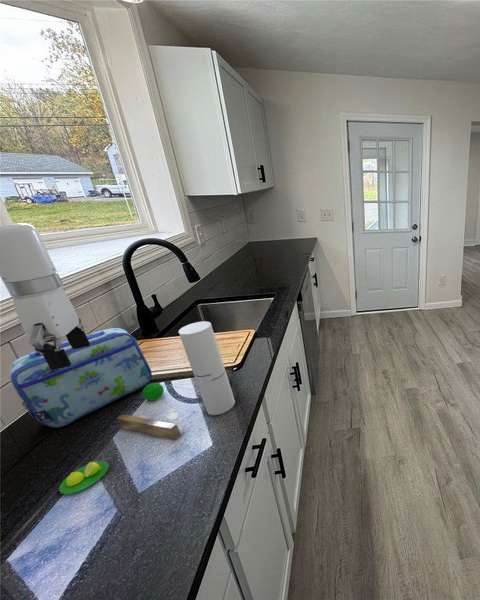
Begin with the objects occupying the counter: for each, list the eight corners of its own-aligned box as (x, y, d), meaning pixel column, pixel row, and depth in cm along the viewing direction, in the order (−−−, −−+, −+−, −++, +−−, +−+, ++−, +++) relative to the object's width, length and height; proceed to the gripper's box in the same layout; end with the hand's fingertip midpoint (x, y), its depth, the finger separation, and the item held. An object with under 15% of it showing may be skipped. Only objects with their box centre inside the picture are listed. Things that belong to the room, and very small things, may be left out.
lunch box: (41, 438, 80) (-1, 370, 73) (35, 422, 86) (-5, 357, 79) (158, 385, 100) (134, 326, 92) (146, 374, 106) (123, 318, 98)
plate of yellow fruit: (102, 457, 74) (97, 448, 73) (115, 472, 70) (110, 462, 69) (55, 485, 67) (49, 475, 66) (67, 502, 64) (61, 492, 62)
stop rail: (122, 428, 82) (117, 418, 81) (128, 424, 84) (123, 413, 83) (175, 439, 78) (170, 428, 77) (181, 434, 79) (176, 424, 78)
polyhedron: (152, 405, 91) (146, 391, 89) (141, 401, 93) (136, 388, 91) (169, 394, 95) (164, 381, 93) (159, 391, 97) (153, 378, 95)
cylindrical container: (208, 402, 91) (181, 325, 81) (235, 395, 93) (212, 319, 84) (205, 418, 84) (175, 336, 75) (234, 410, 87) (209, 330, 78)
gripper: (34, 278, 70) (68, 344, 77) (-20, 302, 56) (27, 382, 62) (78, 272, 73) (107, 336, 80) (36, 294, 59) (76, 371, 65)
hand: (72, 356), depth 71 cm, fingers open, 9 cm apart
